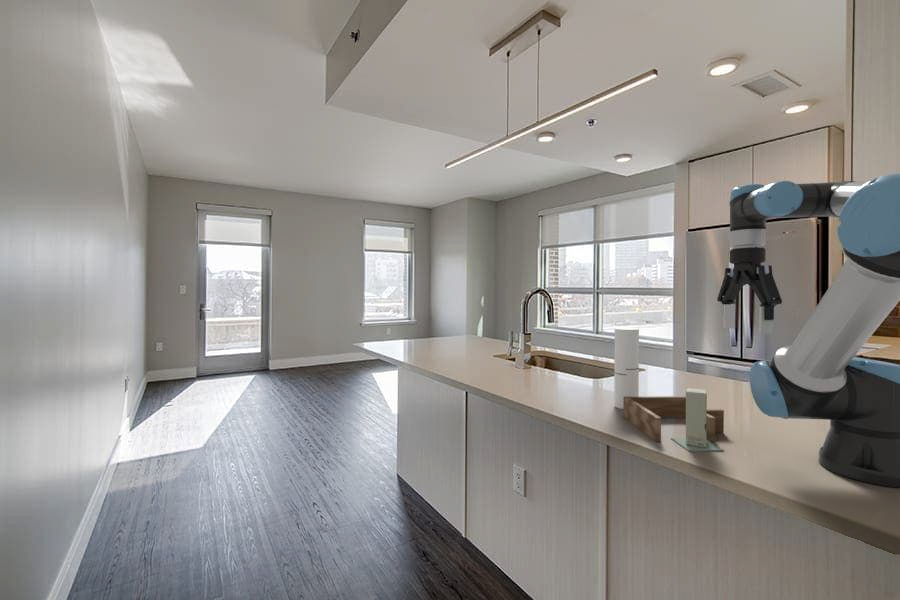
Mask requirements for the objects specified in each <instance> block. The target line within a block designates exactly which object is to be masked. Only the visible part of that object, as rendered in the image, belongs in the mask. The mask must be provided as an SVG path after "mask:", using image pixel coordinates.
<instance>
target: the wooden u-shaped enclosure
mask: <svg viewBox="0 0 900 600" xmlns="http://www.w3.org/2000/svg"><path fill="white" fill-rule="evenodd" d="M724 416H725V411H724V409H721V408H707V440H708V441H710V442H711V443H714V442H716V434H725V433H724V432H725V431H724V430H725V429H724V428H725V427H724V426H725V425H724V424H725V422H724V420H725V419H724V418H725V417H724ZM623 418H624V419H625V420H627V421H629V423H631V424H632V425H634V426H635V428H637V429H638V430H640V431H642V433H644V434H645V435H647V436H648V437H649V438H650V439H652V440H653V441H654V442H656V443H661V442H662V419H686V395H683V396H682V395H681V396H680V395H678V396H677V395H675V396H674V395H672V396H671V395H668V396H663V395H662V396H639V397H624V409H623Z"/></svg>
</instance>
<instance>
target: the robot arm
mask: <svg viewBox="0 0 900 600" xmlns="http://www.w3.org/2000/svg"><path fill="white" fill-rule="evenodd" d="M728 205H729V244H728V245H729V247H730V248H731V249H730V250H729V259H728V260H729V263H730V264H732V265H733V267H725V269H724V277H723V280H722V284H721V285H720V290H719V293H718V295H717V297H716V298H717V299H716V300H717V302H720V303H721V304H722V316H723V320H722V321H723V322H722V325H723V326H722V327H723V329H736V302H735V300H736V299H737V296H739V293H740V292H741V290H742V288H743V287H744V286H746V285H748V286H749V287H751V289H752V290H753V292H754V293H755V295H756V296H757V298H758V300H759V302H760V304H759V309H758V311H759V312H758V334H759V335H773V334H774V333H773V331H774V327H773V325H774V324H773V323H774V319H775V307H776V306H777V305H781V304H782V303H783V300H782V297H781V294H780V292H779V288H778V286H777V283H776V281H775V278H774V275H773V267H772V265H763V264H762V263H765V262H766V257H767V256H766V250H767V249H766V248H765V247H763V246H765V245H766V229H767V227H766V226H767V221H768V220H770V219H786V218H787V219H788V218H790V219H791V218H809V217H811V218H812V217H813V218H815V217H818V218H819V217H822V218H823V217H825V218H826V217H830V218H831V217H832V218H838V222H840V224H839V225H838V226H837V229H836V231H837V239H838V241H839V243H840V245H841V251H842V254H843V255H844V257H845V258H846V260H845V261H844V263H843V264H842V266H841V268H840V270H838V273H837V274H836V276H835V277H834V279H833V280H832V282H831V283H830V285H829V287H828V289H826V292H825V293H824V294H823V296H822V297H821V299H820V301H819V303H818V304H817V305H816V307H815V309H814V310H813V312H812V313H811V315H810V316H809V318H808V320H807V321H806V323H805V325H804V326H803V327H802V328H801V330H800V332H799V334H798V335H797V336H796V338H795V340H794V341H793V342H792V344H789V345H786V346H783V347H780V348H779V349H778V350H777V351H776V352H775V353H774V355H773V358H772V359H771V360H769V361H767V360H760V361H756V362H754V363H753V364H752V365H751V367H750V371H749V387H750V391H751V395H752V398H753V400H754V402H755V405H756V407H757V408H758V410H760V412H762V413H763V414H764V415H766V416H768V417H771V418H781V419H784V420H787V419H793V420H794V419H795V420H796V419H798V420H799V419H800V420H827V421H828V420H830V422H829V423H830V424H829V425H830V427H829V429H828V432H827V435H826V436H825V439H824V442H823V445H822V446H821V447H820V449H819V450H818V462H819V464H820V465H821V466H822V467H824V468H825V469H827V470H829V471H831V472H833V473H836V474H838V475H840V476H843V477H846V478H848V479H853V480H857V481H859V482H860V481H861V482H863V483H868V484H873V485H878V486H884V487H885V486H886V487H892V488H900V364H897V363H892V362H886V361H882V360H881V361H880V360H875V359H871V358H863V357H857V356H856V355H857V354H858V352H859V351H860V350H861V349H862V347H864V345H865V344H866V342H867V341H868V340H869V339H870V338H871V337H872V336H873V334H874V333H875V332H876V331H877V329H878V328H879V327H880V326H881V324H882V323H883V322H884V321H885V319H886V318H887V317H888V316H889V315H890V313H891V312H892V311H893V310H894V309H895V307H896V306H897V305H898V303H899V302H900V173H894V174H886V175H881V176H879V177H876V178H873V179H871V180H869V181H855V180H845V181H844V180H843V181H832V182H815V183H813V182H811V183H795V182H792V181H790V180H781V181H775V182H770V183H769V184H766V185H765V184H760V183H755V184H753V183H751V184H744V185H741V186H740V185H739V186H736V187H734V188H733V189H732V190H731V191H730V198H729V204H728Z"/></svg>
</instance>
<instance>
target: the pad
mask: <svg viewBox="0 0 900 600" xmlns="http://www.w3.org/2000/svg"><path fill="white" fill-rule="evenodd" d="M670 439H671V440H672V441H673V442H675V443H676V444H677V445H679V446H681V447H682V448H683V449H685V450H686V451H688V452H724V449H723V448H721V447H720V446H718V445H716V444H715V443H714V442H710V441H708V440H707V445H706V447H699V446H692V445H688V444H686V437H670Z"/></svg>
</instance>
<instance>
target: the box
mask: <svg viewBox="0 0 900 600" xmlns="http://www.w3.org/2000/svg"><path fill="white" fill-rule="evenodd" d="M707 393H708V392H707V389H701V388H700V389H699V388H691V387H687V388H686V390H685V396H686V418H685V438H686V444H688V445H692V446H699V447H706V445H707V409H708V408H707V405H708V404H707V401H708V400H707V398H708V395H707Z"/></svg>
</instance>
